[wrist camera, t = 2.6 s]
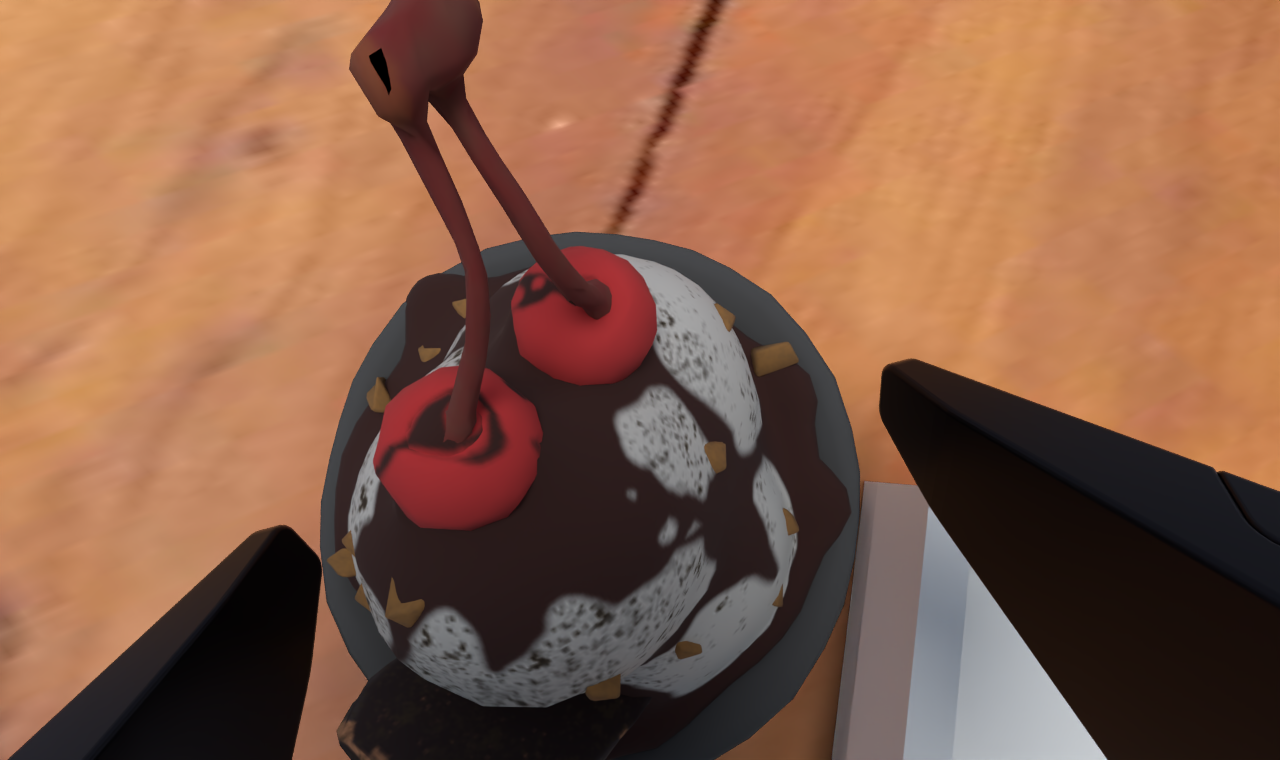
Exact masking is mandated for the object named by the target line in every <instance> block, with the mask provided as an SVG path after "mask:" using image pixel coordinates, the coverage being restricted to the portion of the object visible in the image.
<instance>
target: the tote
mask: <svg viewBox="0 0 1280 760" xmlns="http://www.w3.org/2000/svg"><path fill="white" fill-rule="evenodd" d="M832 760H1107V759H1106V757H1105V756H1104V754H1103V753H1102V752H1101V750H1100V749H1099V747H1098V746H1097V745H1096V743H1095V742H1094V740H1093V739H1092V737H1091V736H1090V735H1089V733H1088V732H1087V730H1086V729H1085V728H1084V726H1083V725H1082V723H1081V722H1080V720H1079V719H1078V718H1077V716H1076V715H1075V713H1074V712H1073V711H1072V709H1071V708H1070V706H1069V705H1068V703H1067V702H1066V701H1065V699H1064V698H1063V696H1062V695H1061V693H1060V692H1059V691H1058V689H1057V688H1056V686H1055V685H1054V684H1053V682H1052V681H1051V679H1050V678H1049V676H1048V675H1047V674H1046V672H1045V671H1044V669H1043V668H1042V667H1041V665H1040V664H1039V662H1038V661H1037V659H1036V658H1035V657H1034V655H1033V654H1032V652H1031V651H1030V649H1029V648H1028V647H1027V645H1026V644H1025V642H1024V641H1023V640H1022V638H1021V637H1020V635H1019V634H1018V632H1017V631H1016V630H1015V628H1014V627H1013V625H1012V624H1011V623H1010V621H1009V620H1008V618H1007V617H1006V615H1005V614H1004V613H1003V611H1002V610H1001V608H1000V607H999V605H998V604H997V603H996V601H995V600H994V598H993V597H992V596H991V594H990V593H989V591H988V590H987V588H986V587H985V586H984V584H983V583H982V581H981V580H980V579H979V577H978V576H977V574H976V573H975V571H974V570H973V569H972V567H971V566H970V564H969V563H968V562H967V560H966V559H965V557H964V556H963V554H962V553H961V552H960V550H959V549H958V547H957V546H956V544H955V543H954V542H953V540H952V539H951V537H950V536H949V535H948V533H947V532H946V530H945V529H944V527H943V526H942V525H941V523H940V522H939V520H938V519H937V517H936V516H935V514H934V513H933V511H932V510H931V508H930V507H929V505H928V503H927V502H926V500H925V498H924V496H923V495H922V493H921V491H920V489H919V487H918V486H917V485H905V484H893V483H881V482H869V481H865V482H864V491H863V499H862V508H861V516H860V525H859V533H858V541H857V550H856V558H855V567H854V575H853V583H852V592H851V600H850V609H849V617H848V626H847V634H846V642H845V651H844V659H843V668H842V676H841V684H840V693H839V701H838V710H837V718H836V727H835V735H834V743H833V752H832Z"/></svg>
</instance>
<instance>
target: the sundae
mask: <svg viewBox="0 0 1280 760" xmlns="http://www.w3.org/2000/svg"><path fill="white" fill-rule="evenodd" d="M482 23H483V19H482V14H481V9H480V3H479V1H478V0H391V2H390V3H389V5H388V6H387V8H386V10H385V11H384V12H383V14H382V15H381V16H380V17H379V19H378V20H377V21H376V22H375V24H374V25H373V26H372V27H371V29H370V30H369V31H368V33H367V34H366V35H365V36H364V38H363V39H362V40H361V41H360V43H359V44H358V45H357V47H356V48H355V49H354V51H353V52H352V54H351V59H350V67H349V70H350V71H351V73H352V75H353V76H354V78H355V80H356V81H357V83H358V84H359V86H360V88H361V89H362V91H363V92H364V94H365V96H366V97H367V99H368V101H369V102H370V104H371V105H372V107H373V109H374V110H375V112H376V114H377V115H378V117H380V118H382V119H384V120H386V121H388V122H390V123H391V125H392V126H393V128H394V130H395V131H396V133H397V134H398V136H399V138H400V139H401V141H402V143H403V145H404V147H405V149H406V151H407V152H408V154H409V156H410V158H411V160H412V162H413V164H414V166H415V168H416V170H417V172H418V173H419V175H420V177H421V179H422V181H423V183H424V185H425V187H426V189H427V191H428V192H429V194H430V196H431V198H432V200H433V202H434V204H435V206H436V208H437V209H438V211H439V213H440V215H441V217H442V219H443V221H444V223H445V225H446V227H447V229H448V230H449V232H450V234H451V236H452V238H453V240H454V242H455V244H456V247H457V250H458V253H459V256H460V259H461V263H459V264H457V265H456V266H454V267H452V268H450V269H448V270H447V271H445V272H443V273H438V274H433V275H429V276H426V277H424V278H422V279H421V280H419V281H418V282H417V283H416V284H415V285H414V286H413V288H412V289H411V291H410V293H409V294H408V296H407V299H406V302H404V303H403V304H402V305H401V307H400V308H399V309H398V311H397V312H396V313H395V315H394V316H393V317H392V319H391V320H390V321H389V323H388V324H387V326H386V327H385V328H384V330H383V331H382V332H381V334H380V335H379V336H378V338H377V339H376V340H375V342H374V343H373V345H372V346H371V348H370V350H369V352H368V354H367V356H366V357H365V359H364V361H363V363H362V365H361V367H360V368H359V370H358V372H357V374H356V376H355V378H354V379H353V382H352V385H351V388H350V391H349V394H348V397H347V400H346V403H345V406H344V409H343V412H342V415H341V418H340V421H339V425H338V429H337V432H336V436H335V440H334V444H333V448H332V451H331V455H330V459H329V464H328V469H327V474H326V479H325V485H324V490H323V495H322V500H321V527H320V551H321V559H322V567H323V575H324V583H325V591H326V600H327V604H328V606H329V608H330V611H331V613H332V615H333V617H334V620H335V622H336V624H337V627H338V629H339V631H340V633H341V636H342V638H343V640H344V642H345V645H346V647H347V649H348V652H349V654H350V655H351V656H352V658H353V659H354V661H355V662H356V664H357V665H358V667H359V668H360V670H361V671H362V672H363V674H364V675H365V677H366V678H367V680H368V682H367V684H366V686H365V687H364V689H363V691H362V692H361V694H360V695H359V697H358V699H357V700H356V701H355V702H354V703H353V704H352V705H351V707H350V709H349V710H348V712H347V714H346V716H345V717H344V719H343V721H342V722H341V724H340V726H339V728H338V729H337V735H338V739H339V744H340V746H341V747H342V749H343V750H344V751H345V753H346V754H347V755H348V757H349V758H350V759H351V760H715V759H716V758H718V757H720V756H721V755H723V754H724V753H726V752H728V751H729V750H731V749H733V748H734V747H736V746H737V745H739V744H741V743H742V742H744V741H746V740H747V739H749V738H750V737H751V736H752V735H753V734H755V733H756V732H757V731H758V730H759V729H760V728H761V727H762V726H763V725H765V724H766V723H767V722H768V721H769V720H770V719H771V718H772V717H774V716H775V715H776V714H777V713H778V712H779V711H780V710H781V709H782V708H784V707H785V706H786V705H787V704H788V703H789V702H790V701H791V700H793V698H794V697H795V695H796V694H797V692H798V690H799V689H800V687H801V686H802V684H803V682H804V681H805V679H806V678H807V676H808V674H809V673H810V671H811V669H812V668H813V666H814V665H815V663H816V661H817V660H818V658H819V657H820V655H821V653H822V652H823V650H824V648H825V646H826V644H827V642H828V639H829V637H830V635H831V633H832V631H833V628H834V626H835V624H836V622H837V619H838V617H839V615H840V613H841V610H842V608H843V606H844V603H845V598H846V594H847V590H848V585H849V581H850V576H851V572H852V568H853V563H854V559H855V551H856V542H857V534H858V525H859V517H860V469H859V464H858V459H857V454H856V448H855V443H854V438H853V433H852V428H851V425H850V422H849V419H848V416H847V413H846V409H845V406H844V403H843V400H842V397H841V394H840V391H839V388H838V385H837V382H836V379H835V377H834V375H833V374H832V372H831V371H830V369H829V368H828V366H827V365H826V363H825V361H824V360H823V358H822V357H821V355H820V354H819V352H818V351H817V349H816V348H815V346H814V345H813V343H812V342H811V340H810V339H809V337H808V336H807V334H806V333H805V332H804V330H803V329H802V328H801V327H800V326H799V325H798V324H797V323H796V322H795V320H794V319H793V318H792V317H791V316H790V315H789V314H788V313H787V312H786V310H785V309H784V308H783V307H782V306H781V305H780V304H779V303H778V302H777V300H776V299H775V298H774V297H773V296H772V295H771V294H769V293H768V292H766V291H765V290H763V289H762V288H760V287H759V286H757V285H756V284H754V283H752V282H751V281H749V280H748V279H746V278H745V277H743V276H742V275H740V274H739V273H737V272H735V271H734V270H732V269H731V268H729V267H727V266H725V265H723V264H721V263H719V262H717V261H715V260H712V259H710V258H708V257H706V256H704V255H702V254H700V253H698V252H696V251H693V250H690V249H686V248H682V247H678V246H675V245H671V244H667V243H663V242H659V241H655V240H649V239H643V238H637V237H630V236H624V235H617V234H602V233H586V232H570V233H562V234H553V235H550V234H549V232H548V230H547V229H546V227H545V226H544V224H543V222H542V221H541V219H540V217H539V216H538V214H537V213H536V211H535V209H534V208H533V206H532V204H531V203H530V201H529V200H528V198H527V196H526V195H525V193H524V192H523V190H522V189H521V187H520V186H519V184H518V183H517V181H516V180H515V178H514V177H513V176H512V174H511V173H510V171H509V170H508V168H507V167H506V165H505V164H504V162H503V161H502V159H501V158H500V156H499V155H498V153H497V152H496V150H495V148H494V147H493V145H492V144H491V142H490V140H489V139H488V137H487V136H486V134H485V132H484V130H483V129H482V127H481V125H480V123H479V121H478V119H477V118H476V116H475V114H474V112H473V110H472V108H471V107H470V105H469V103H468V101H467V99H466V93H465V84H464V76H463V74H464V73H465V71H466V70H467V68H468V67H469V65H470V64H471V62H472V61H473V59H474V58H475V56H476V55H477V51H478V46H479V40H480V34H481V28H482ZM428 101H429V102H430V103H431V105H432V106H433V107H434V108H435V109H436V110H437V111H438V113H439V114H440V115H441V116H442V117H443V118H444V119H445V120H446V122H447V123H448V124H449V125H450V126H451V127H452V129H453V130H454V132H455V134H456V135H457V137H458V138H459V140H460V142H461V143H462V145H463V147H464V148H465V150H466V151H467V153H468V155H469V156H470V158H471V160H472V161H473V163H474V164H475V166H476V167H477V169H478V171H479V172H480V174H481V175H482V177H483V178H484V180H485V181H486V183H487V184H488V186H489V187H490V189H491V190H492V192H493V194H494V195H495V197H496V198H497V200H498V201H499V203H500V204H501V206H502V207H503V209H504V210H505V212H506V214H507V215H508V217H509V219H510V221H511V222H512V224H513V226H514V227H515V229H516V230H517V232H518V234H519V235H520V237H521V238H522V240H519V241H515V242H511V243H507V244H503V245H499V246H495V247H491V248H487V249H485V250H483V251H481V252H480V250H479V246H478V244H477V241H476V238H475V236H474V233H473V230H472V227H471V225H470V222H469V219H468V217H467V214H466V211H465V209H464V206H463V203H462V201H461V198H460V196H459V194H458V192H457V189H456V187H455V185H454V183H453V181H452V178H451V176H450V174H449V172H448V169H447V167H446V165H445V163H444V160H443V158H442V156H441V154H440V151H439V149H438V147H437V144H436V142H435V139H434V137H433V135H432V132H431V130H430V127H429V125H428V123H427V114H428Z"/></svg>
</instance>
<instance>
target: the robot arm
mask: <svg viewBox="0 0 1280 760" xmlns="http://www.w3.org/2000/svg"><path fill="white" fill-rule="evenodd" d="M879 411H880V416H881V419H882V421H883V423H884V425H885V427H886V429H887V431H888V433H889V434H890V436H891V438H892V440H893V442H894V444H895V445H896V447H897V449H898V451H899V453H900V455H901V456H902V458H903V460H904V462H905V464H906V466H907V467H908V469H909V471H910V473H911V475H912V477H913V478H914V480H915V482H916V484H917V486H918V487H919V489H920V491H921V493H922V495H923V496H924V498H925V500H926V502H927V503H928V505H929V507H930V508H931V510H932V511H933V513H934V514H935V516H936V517H937V519H938V520H939V522H940V523H941V525H942V526H943V527H944V529H945V530H946V532H947V533H948V535H949V536H950V537H951V539H952V540H953V542H954V543H955V544H956V546H957V547H958V549H959V550H960V552H961V553H962V554H963V556H964V557H965V559H966V560H967V562H968V563H969V564H970V566H971V567H972V569H973V570H974V571H975V573H976V574H977V576H978V577H979V579H980V580H981V581H982V583H983V584H984V586H985V587H986V588H987V590H988V591H989V593H990V594H991V596H992V597H993V598H994V600H995V601H996V603H997V604H998V605H999V607H1000V608H1001V610H1002V611H1003V613H1004V614H1005V615H1006V617H1007V618H1008V620H1009V621H1010V623H1011V624H1012V625H1013V627H1014V628H1015V630H1016V631H1017V632H1018V634H1019V635H1020V637H1021V638H1022V640H1023V641H1024V642H1025V644H1026V645H1027V647H1028V648H1029V649H1030V651H1031V652H1032V654H1033V655H1034V657H1035V658H1036V659H1037V661H1038V662H1039V664H1040V665H1041V667H1042V668H1043V669H1044V671H1045V672H1046V674H1047V675H1048V676H1049V678H1050V679H1051V681H1052V682H1053V684H1054V685H1055V686H1056V688H1057V689H1058V691H1059V692H1060V693H1061V695H1062V696H1063V698H1064V699H1065V701H1066V702H1067V703H1068V705H1069V706H1070V708H1071V709H1072V711H1073V712H1074V713H1075V715H1076V716H1077V718H1078V719H1079V720H1080V722H1081V723H1082V725H1083V726H1084V728H1085V729H1086V730H1087V732H1088V733H1089V735H1090V736H1091V737H1092V739H1093V740H1094V742H1095V743H1096V745H1097V746H1098V747H1099V749H1100V750H1101V752H1102V753H1103V754H1104V756H1105V757H1106V759H1107V760H1280V491H1277V490H1274V489H1271V488H1269V487H1266V486H1263V485H1260V484H1258V483H1255V482H1252V481H1249V480H1247V479H1244V478H1241V477H1238V476H1236V475H1233V474H1230V473H1228V472H1225V471H1219V472H1216V470H1215V469H1214V468H1213V467H1211V466H1208V465H1205V464H1202V463H1200V462H1197V461H1194V460H1191V459H1189V458H1186V457H1183V456H1180V455H1178V454H1175V453H1172V452H1169V451H1167V450H1164V449H1161V448H1158V447H1156V446H1153V445H1150V444H1147V443H1145V442H1142V441H1139V440H1136V439H1134V438H1131V437H1128V436H1126V435H1123V434H1120V433H1117V432H1115V431H1112V430H1109V429H1106V428H1104V427H1101V426H1098V425H1095V424H1093V423H1090V422H1087V421H1084V420H1082V419H1079V418H1076V417H1073V416H1071V415H1068V414H1065V413H1062V412H1060V411H1057V410H1054V409H1051V408H1049V407H1046V406H1043V405H1041V404H1038V403H1035V402H1032V401H1030V400H1027V399H1024V398H1021V397H1019V396H1016V395H1013V394H1010V393H1008V392H1005V391H1002V390H999V389H997V388H994V387H991V386H988V385H986V384H983V383H980V382H977V381H975V380H972V379H969V378H966V377H964V376H961V375H958V374H955V373H953V372H950V371H947V370H945V369H942V368H939V367H936V366H934V365H931V364H928V363H925V362H923V361H920V360H917V359H906V360H902V361H898V362H894V363H891V364H888V365H886V366H885V367H884V368H883V371H882V376H881V388H880V401H879ZM321 577H322V566H321V562H320V559H319V557H318V555H317V554H316V553H315V552H314V551H313V550H312V549H311V548H310V547H309V546H308V545H307V544H306V542H305V541H304V540H303V539H302V538H301V537H300V536H299V535H298V534H297V533H296V532H295V531H294V530H293V529H292V528H291V527H289V526H286V525H278V526H274V527H270V528H266V529H263V530H259V531H257V532H255V533H253V534H251V535H250V536H249V537H248V538H247V539H246V540H245V541H244V542H243V543H241V544H240V545H239V546H238V547H237V548H236V549H235V550H234V551H233V552H232V553H231V554H230V555H228V556H227V557H226V558H225V559H224V560H223V561H222V562H221V563H220V564H219V565H218V566H217V567H216V568H214V569H213V570H212V571H211V572H210V573H209V574H208V575H207V576H206V577H205V578H204V579H203V580H201V581H200V582H199V583H198V584H197V585H196V586H195V587H194V588H193V589H192V590H191V591H190V592H188V593H187V594H186V595H185V596H184V597H183V598H182V599H181V600H180V601H179V602H178V603H177V604H175V605H174V606H173V607H172V608H171V609H170V610H169V611H168V612H167V613H166V614H165V615H164V616H163V617H161V618H160V619H159V620H158V621H157V622H156V623H155V624H154V625H153V626H152V627H151V628H150V629H148V630H147V631H146V632H145V633H144V634H143V635H142V636H141V637H140V638H139V639H138V640H137V641H135V642H134V643H133V644H132V645H131V646H130V647H129V648H128V649H127V650H126V651H125V652H124V653H122V654H121V655H120V656H119V657H118V658H117V659H116V660H115V661H114V662H113V663H112V664H111V665H110V666H108V667H107V668H106V669H105V670H104V671H103V672H102V673H101V674H100V675H99V676H98V677H97V678H95V679H94V680H93V681H92V682H91V683H90V684H89V685H88V686H87V687H86V688H85V689H84V690H82V691H81V692H80V693H79V694H78V695H77V696H76V697H75V698H74V699H73V700H72V701H71V702H69V703H68V704H67V705H66V706H65V707H64V708H63V709H62V710H61V711H60V712H59V713H58V714H57V715H55V716H54V717H53V718H52V719H51V720H50V721H49V722H48V723H47V724H46V725H45V726H44V727H42V728H41V729H40V730H39V731H38V732H37V733H36V734H35V735H34V736H33V737H32V738H31V739H29V740H28V741H27V742H26V743H25V744H24V745H23V746H22V747H21V748H20V749H19V750H18V751H16V752H15V753H14V754H13V755H12V756H11V757H10V758H9V759H8V760H292V756H293V752H294V747H295V743H296V738H297V734H298V729H299V724H300V720H301V715H302V711H303V706H304V701H305V697H306V692H307V687H308V682H309V677H310V671H311V664H312V657H313V649H314V640H315V631H316V622H317V613H318V604H319V595H320V586H321Z"/></svg>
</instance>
